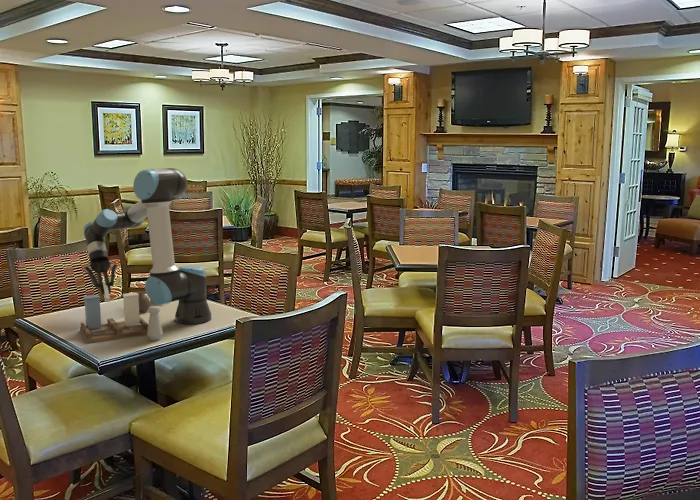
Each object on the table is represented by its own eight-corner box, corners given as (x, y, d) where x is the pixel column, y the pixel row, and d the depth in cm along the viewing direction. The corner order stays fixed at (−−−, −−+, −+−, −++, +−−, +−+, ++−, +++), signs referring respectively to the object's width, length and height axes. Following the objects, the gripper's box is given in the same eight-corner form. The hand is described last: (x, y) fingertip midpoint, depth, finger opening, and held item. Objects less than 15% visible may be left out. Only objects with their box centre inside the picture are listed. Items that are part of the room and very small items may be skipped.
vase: (153, 311, 280) (152, 292, 279) (141, 314, 275) (140, 295, 273) (143, 308, 284) (142, 290, 283) (130, 312, 278) (129, 293, 277)
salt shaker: (154, 342, 237) (152, 309, 235) (144, 339, 240) (142, 307, 238) (166, 338, 242) (164, 305, 240) (156, 335, 245) (154, 303, 243)
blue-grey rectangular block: (85, 327, 250) (83, 296, 248) (99, 325, 253) (97, 294, 250) (87, 330, 246) (85, 298, 244) (102, 328, 249) (100, 296, 247)
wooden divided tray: (80, 330, 251) (79, 322, 250) (138, 322, 263) (138, 314, 262) (88, 343, 236) (88, 334, 235) (150, 333, 248) (149, 325, 247)
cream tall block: (124, 324, 254) (122, 294, 252) (137, 322, 257) (136, 292, 254) (126, 327, 250) (124, 296, 248) (140, 325, 253) (138, 294, 251)
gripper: (112, 257, 277) (123, 302, 266) (81, 260, 270) (90, 306, 259) (114, 247, 271) (125, 293, 260) (82, 250, 265) (91, 297, 254)
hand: (107, 299), depth 260 cm, fingers closed
